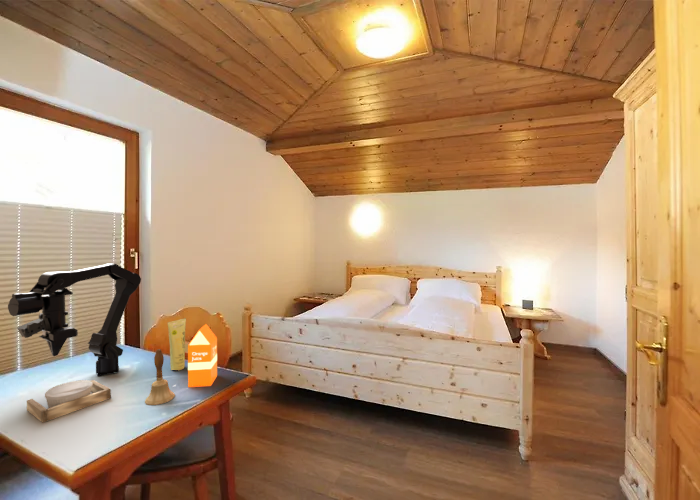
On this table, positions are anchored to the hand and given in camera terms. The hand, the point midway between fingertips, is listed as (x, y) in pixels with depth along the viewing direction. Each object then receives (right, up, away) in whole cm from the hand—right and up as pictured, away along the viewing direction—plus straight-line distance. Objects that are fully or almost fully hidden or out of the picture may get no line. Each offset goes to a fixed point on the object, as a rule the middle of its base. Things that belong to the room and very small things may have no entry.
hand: (55, 355), depth 107 cm
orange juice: (+46, -12, +8) cm, 48 cm away
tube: (+31, -12, +19) cm, 38 cm away
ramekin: (+13, -13, -9) cm, 20 cm away
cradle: (+12, -12, -8) cm, 19 cm away
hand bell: (+38, -12, -5) cm, 41 cm away
